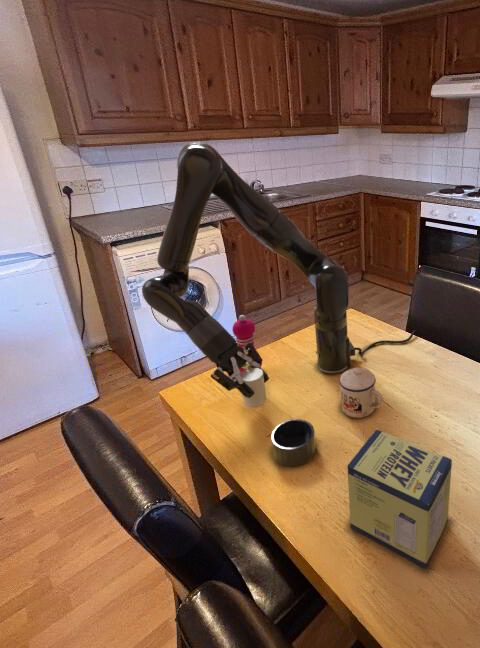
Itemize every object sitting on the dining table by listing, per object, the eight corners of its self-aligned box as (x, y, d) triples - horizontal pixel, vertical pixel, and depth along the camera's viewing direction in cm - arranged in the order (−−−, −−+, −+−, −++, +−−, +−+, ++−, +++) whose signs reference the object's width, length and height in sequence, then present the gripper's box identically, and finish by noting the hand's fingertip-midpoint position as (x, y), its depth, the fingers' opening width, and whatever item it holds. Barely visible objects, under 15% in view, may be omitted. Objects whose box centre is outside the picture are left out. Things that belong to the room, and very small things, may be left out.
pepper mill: (267, 369, 124) (259, 309, 116) (258, 384, 117) (249, 321, 109) (243, 368, 124) (234, 309, 117) (234, 383, 118) (223, 321, 110)
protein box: (376, 487, 85) (375, 427, 79) (448, 521, 77) (454, 458, 71) (348, 528, 76) (345, 465, 70) (426, 571, 69) (430, 505, 63)
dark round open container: (310, 431, 100) (309, 415, 98) (319, 460, 91) (318, 442, 90) (271, 441, 97) (269, 424, 95) (276, 471, 89) (274, 454, 87)
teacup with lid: (333, 410, 107) (331, 372, 102) (354, 391, 113) (353, 355, 109) (371, 428, 100) (371, 389, 96) (392, 408, 107) (392, 370, 102)
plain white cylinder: (265, 391, 108) (261, 365, 105) (268, 404, 103) (264, 378, 100) (243, 396, 106) (238, 370, 103) (244, 410, 101) (240, 383, 98)
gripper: (197, 345, 93) (249, 399, 94) (237, 317, 106) (283, 365, 106) (184, 361, 97) (234, 413, 98) (224, 332, 110) (268, 378, 110)
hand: (259, 388), depth 102 cm, fingers closed on plain white cylinder, 5 cm apart
